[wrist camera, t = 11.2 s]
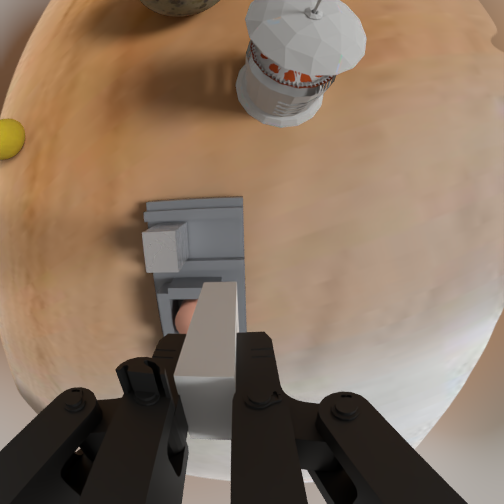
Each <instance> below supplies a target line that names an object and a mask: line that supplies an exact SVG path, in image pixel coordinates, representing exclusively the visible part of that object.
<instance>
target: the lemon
mask: <svg viewBox="0 0 504 504" xmlns="http://www.w3.org/2000/svg"><path fill="white" fill-rule="evenodd" d="M24 141H25V131H24V128H23V126H22V125H21V123H20V122H18V121H16V120H14V119H1V120H0V160H4V159H9V158H11V157H13V156H15V155H16V154H17V153H18V152H19V151H20V150H21V148H22V146H23V144H24Z"/></svg>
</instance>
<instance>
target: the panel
mask: <svg viewBox="0 0 504 504" xmlns="http://www.w3.org/2000/svg"><path fill="white" fill-rule="evenodd" d="M146 205H147V211H146V212H144V222H148V229H149V228H151V227H153V226H154V225H156V224H158V223H173V222H187V235H188V248H189V257H188V259H187V260H186V262H185V263H184V265H183V266H182V268H181V269H180V271H179V272H161V273H153V276H154V283H155V290H156V297H157V303H158V309H159V315H160V321H161V326H162V331H163V336H164V337H165V336H166V335H167V334H168V333H171V334H180V333H179V332H178V330H177V328H176V325H175V318H176V315H177V313H178V311H179V308H180V306H181V304H182V302H183V300H184V299H198V298H199V296H200V293H201V290H202V287H203V284H204V282H237V299H238V321H239V333H242V332H247V330H246V298H245V264H244V227H243V196H237V197H209V198H189V199H173V200H158V201H150V202H146Z"/></svg>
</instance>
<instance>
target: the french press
mask: <svg viewBox="0 0 504 504" xmlns="http://www.w3.org/2000/svg"><path fill="white" fill-rule="evenodd" d="M245 21H246V25H247V29H248V33H249V37H250V39H251V40H250V42H249V45H248V49H247V52H246V63H245V65H244V66H243V67H242V68H241V70H240V71H239V74H238V78H237V81H236V90H237V95H238V100H239V102H240V103H241V105H242V106H243V107H244V109H245V110H246V112H247V113H248V114H249V115H251V116H252V117H254V118H255V119H257V120H258V121H260V122H261V123H263V124H267V125H272V126H276V127H280V128H282V127H290V126H298V125H300V124H302V123H303V122H305V121H307V120H309V119H311V118H312V117H313V116H314V115H315V113H316V112H317V111H318V109H319V108H320V107H321V104H322V99H323V94H324V92H325V91H326V90H327V89H328V88H329V87H330V86H331V84H332V83H333V82H334V80H335V77H336V75H337V74H339V73H342V72H344V71H347V70H349V69H352V68H354V67H355V66H356V64H357V63H358V62H359V61H360V59H361V58H362V57H363V56H364V54H365V47H366V35H365V33H364V30H363V27H362V24H361V22H360V20H359V18H358V17H357V16H356V15H355V14H354V13H353V12H352V10H351V9H350V8H349V7H348V6H347V5H346V4H344V3H343V2H341V1H340V0H254V1H253V2H252V3H251V4H250V6H249V9H248V12H247V15H246V18H245ZM250 50H251V51H250ZM249 51H250V53H249ZM251 53H252V54H251ZM248 54H249V55H248ZM250 55H251V56H250ZM252 56H253V57H252ZM249 57H250V58H249ZM247 58H249V60H248V59H247ZM331 79H332V81H331ZM330 81H331V84H330ZM327 82H328V85H327ZM324 83H325V86H324ZM329 84H330V86H329ZM326 85H327V88H326ZM323 86H324V89H323ZM325 88H326V90H325Z"/></svg>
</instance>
